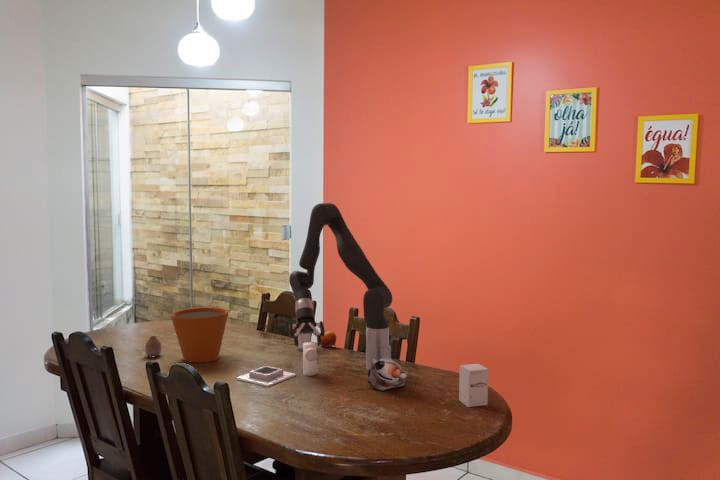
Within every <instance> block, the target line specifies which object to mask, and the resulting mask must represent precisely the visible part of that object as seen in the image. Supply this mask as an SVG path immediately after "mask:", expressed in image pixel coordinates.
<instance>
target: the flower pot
mask: <svg viewBox="0 0 720 480" xmlns="http://www.w3.org/2000/svg"><path fill="white" fill-rule="evenodd" d="M228 315H229V310H228V309H227V308H226V309H225V308H221V307H210V306H205V307H203V306H201V307H200V306H199V307H189V308H183V309H179V310H178V309H177V310H176V311H173V312H172V313H171V314H170V318H171V321H172V323H173V328H174V331H175V335H176V337H177V340H178V341H177V342H178V344H179V347H180V351H181V354H182V358H183V360H184V359H185V360H187V361H191V362H190V363H192V362H205V363H209V362H208V361H211V362H214V360H215V361H217V360H218V359H219V357H220V356H219V355H220V351H221V347H222V342H223V338H224V334H225V329H226V324H227V320H228V317H229V316H228ZM216 359H217V360H216ZM185 360H184V361H185ZM187 361H186V362H187Z"/></svg>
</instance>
